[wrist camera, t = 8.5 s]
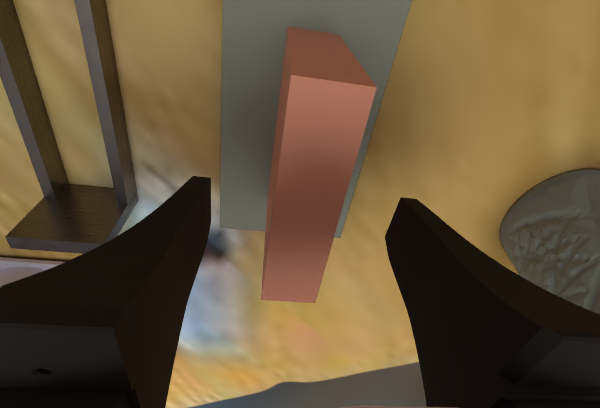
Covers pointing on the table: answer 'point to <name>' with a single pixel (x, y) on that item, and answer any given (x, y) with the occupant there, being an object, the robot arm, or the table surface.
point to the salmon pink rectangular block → (311, 159)
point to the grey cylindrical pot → (558, 236)
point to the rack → (43, 150)
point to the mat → (267, 80)
